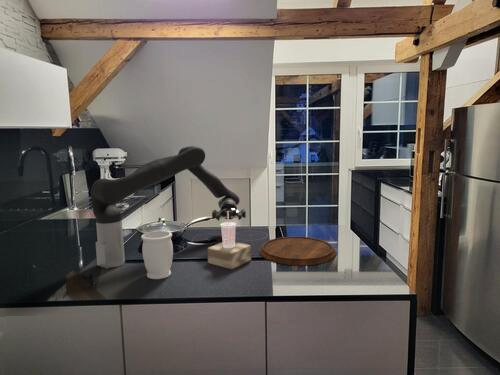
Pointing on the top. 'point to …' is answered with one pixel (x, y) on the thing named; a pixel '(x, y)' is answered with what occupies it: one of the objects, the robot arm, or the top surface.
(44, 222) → the top surface
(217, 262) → the wooden riser
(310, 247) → the cutting board
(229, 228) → the beverage cup
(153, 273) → the jar
